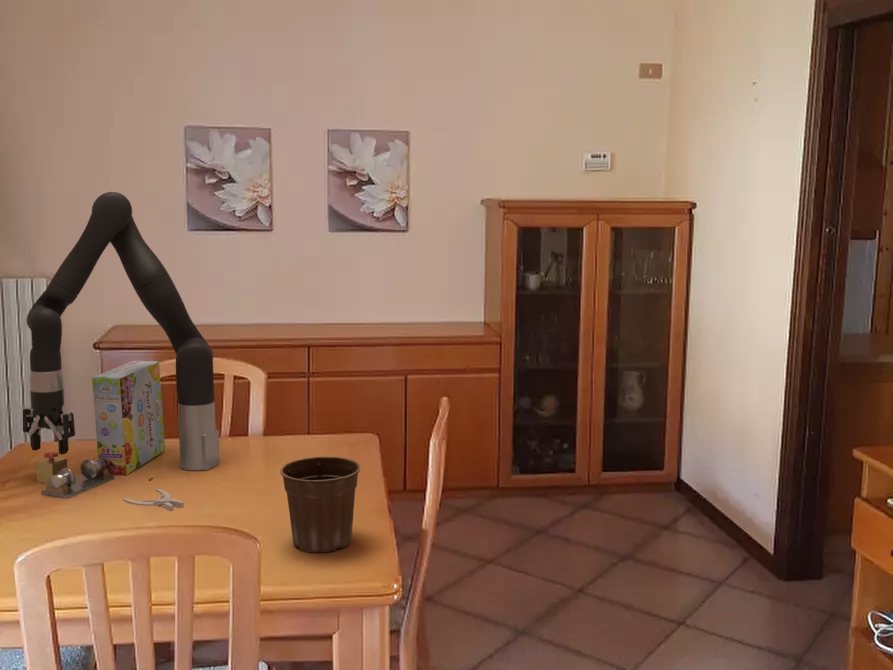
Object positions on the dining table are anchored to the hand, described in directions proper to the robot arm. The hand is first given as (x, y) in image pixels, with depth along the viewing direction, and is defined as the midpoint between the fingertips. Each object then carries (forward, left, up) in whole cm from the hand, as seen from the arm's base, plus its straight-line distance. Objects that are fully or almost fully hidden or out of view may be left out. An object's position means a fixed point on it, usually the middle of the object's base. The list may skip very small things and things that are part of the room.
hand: (49, 451), depth 228 cm
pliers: (-35, +3, -8) cm, 36 cm away
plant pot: (-81, +11, -8) cm, 83 cm away
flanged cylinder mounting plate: (-9, +1, -7) cm, 12 cm away
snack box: (-8, -20, -8) cm, 23 cm away
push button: (0, 0, -8) cm, 8 cm away
